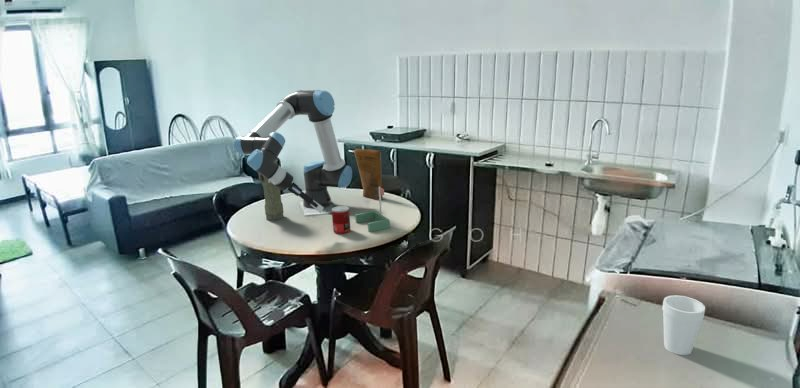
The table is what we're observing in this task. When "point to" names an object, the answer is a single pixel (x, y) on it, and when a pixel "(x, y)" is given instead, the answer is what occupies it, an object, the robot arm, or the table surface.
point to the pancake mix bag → (369, 171)
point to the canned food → (341, 219)
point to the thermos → (272, 198)
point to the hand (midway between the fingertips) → (321, 209)
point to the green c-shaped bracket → (374, 217)
